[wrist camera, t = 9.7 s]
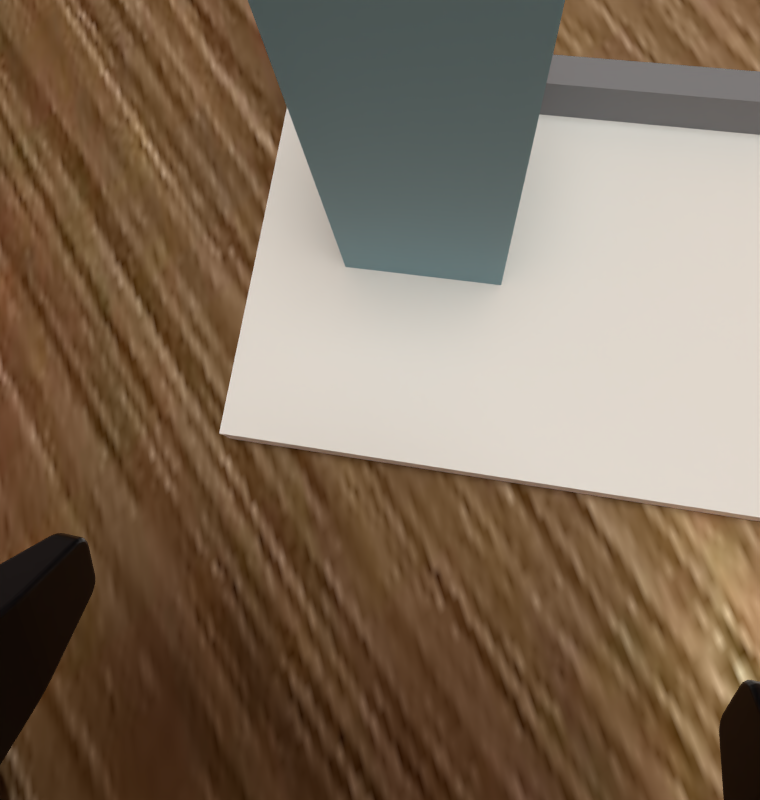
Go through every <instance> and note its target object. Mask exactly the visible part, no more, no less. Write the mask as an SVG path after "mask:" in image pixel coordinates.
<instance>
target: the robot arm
mask: <svg viewBox="0 0 760 800" xmlns="http://www.w3.org/2000/svg"><path fill="white" fill-rule="evenodd" d="M94 585H95V573H94V568H93V564H92V559H91V555H90V550H89V546H88V543H87V541H86V540H85V539H84V538H82V537H78V536H73V535H68V534H64V533H57V534H54V535H52V536H49V537H48V538H46V539H44V540H42V541H41V542H39V543H37V544H35V545H34V546H32V547H30V548H28V549H26V550H25V551H23V552H21V553H19V554H18V555H16V556H14V557H12V558H10V559H9V560H7V561H5V562H3V563H2V564H0V764H1V763H2V761H3V759H4V758H5V756H6V755H7V753H8V751H9V750H10V748H11V746H12V745H13V743H14V741H15V740H16V738H17V737H18V735H19V733H20V732H21V730H22V728H23V727H24V725H25V723H26V722H27V720H28V719H29V717H30V715H31V714H32V712H33V710H34V709H35V707H36V705H37V704H38V702H39V700H40V698H41V697H42V695H43V693H44V692H45V690H46V688H47V686H48V684H49V682H50V680H51V678H52V676H53V674H54V672H55V670H56V668H57V666H58V664H59V662H60V659H61V657H62V655H63V653H64V651H65V649H66V647H67V645H68V643H69V641H70V639H71V636H72V634H73V632H74V630H75V628H76V626H77V624H78V622H79V620H80V618H81V616H82V614H83V611H84V609H85V607H86V605H87V603H88V601H89V599H90V597H91V595H92V592H93V589H94ZM719 737H720V751H721V766H722V781H723V795H724V800H760V682H758V681H754V680H747V681H745V682H743V683H742V684H741V685H740V687H739V688H738V690H737V692H736V693H735V695H734V696H733V698H732V700H731V701H730V703H729V705H728V706H727V708H726V710H725V711H724V713H723V715H722V718H721V721H720V728H719Z"/></svg>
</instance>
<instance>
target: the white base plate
mask: <svg viewBox="0 0 760 800" xmlns="http://www.w3.org/2000/svg"><path fill="white" fill-rule="evenodd" d="M219 433H220V434H222V435H224V436H226V437H228V438H231V439H236V440H243V441H249V442H256V443H262V444H268V445H275V446H281V447H288V448H294V449H300V450H307V451H313V452H320V453H326V454H332V455H339V456H345V457H351V458H358V459H364V460H371V461H377V462H383V463H390V464H396V465H403V466H409V467H415V468H422V469H428V470H435V471H441V472H447V473H454V474H460V475H466V476H473V477H479V478H486V479H492V480H498V481H505V482H511V483H518V484H524V485H530V486H537V487H543V488H550V489H556V490H562V491H569V492H575V493H581V494H588V495H594V496H601V497H607V498H613V499H620V500H626V501H633V502H639V503H645V504H652V505H658V506H665V507H671V508H677V509H684V510H690V511H696V512H703V513H709V514H716V515H722V516H728V517H735V518H741V519H748V520H754V521H760V72H757V71H745V70H733V69H721V68H708V67H696V66H684V65H672V64H660V63H648V62H636V61H624V60H611V59H599V58H587V57H575V56H563V55H553V56H552V60H551V65H550V69H549V74H548V78H547V83H546V87H545V92H544V96H543V101H542V105H541V109H540V114H539V118H538V123H537V127H536V132H535V136H534V141H533V145H532V150H531V154H530V158H529V163H528V167H527V172H526V176H525V181H524V185H523V190H522V194H521V199H520V203H519V207H518V212H517V216H516V221H515V225H514V230H513V234H512V239H511V243H510V248H509V252H508V257H507V261H506V265H505V270H504V274H503V279H502V283H501V285H495V284H486V283H478V282H469V281H461V280H452V279H444V278H435V277H427V276H418V275H410V274H401V273H393V272H384V271H376V270H367V269H359V268H350V267H345V264H344V261H343V259H342V256H341V253H340V250H339V248H338V245H337V242H336V239H335V237H334V234H333V231H332V228H331V226H330V223H329V220H328V218H327V215H326V212H325V209H324V207H323V204H322V201H321V198H320V196H319V193H318V190H317V188H316V185H315V182H314V179H313V177H312V174H311V171H310V168H309V166H308V163H307V160H306V157H305V155H304V152H303V149H302V147H301V144H300V141H299V138H298V136H297V133H296V130H295V127H294V125H293V122H292V119H291V116H290V114H289V111H288V108H287V110H286V115H285V120H284V124H283V129H282V134H281V139H280V144H279V148H278V153H277V158H276V163H275V168H274V172H273V177H272V182H271V187H270V192H269V197H268V201H267V206H266V211H265V216H264V221H263V225H262V230H261V235H260V240H259V245H258V249H257V254H256V259H255V264H254V269H253V273H252V278H251V283H250V288H249V293H248V297H247V302H246V307H245V312H244V317H243V321H242V326H241V331H240V336H239V341H238V345H237V350H236V355H235V360H234V365H233V369H232V374H231V379H230V384H229V389H228V393H227V398H226V403H225V408H224V413H223V417H222V422H221V427H220V432H219Z"/></svg>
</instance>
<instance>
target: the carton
mask: <svg viewBox="0 0 760 800" xmlns="http://www.w3.org/2000/svg"><path fill="white" fill-rule="evenodd" d="M248 2H249V5H250V7H251V10H252V13H253V15H254V18H255V21H256V24H257V26H258V29H259V32H260V35H261V37H262V40H263V43H264V45H265V48H266V51H267V54H268V56H269V59H270V62H271V65H272V67H273V70H274V73H275V76H276V78H277V81H278V84H279V86H280V89H281V92H282V95H283V97H284V100H285V103H286V106H287V108H288V111H289V114H290V116H291V119H292V122H293V125H294V127H295V130H296V133H297V136H298V138H299V141H300V144H301V147H302V149H303V152H304V155H305V157H306V160H307V163H308V166H309V168H310V171H311V174H312V177H313V179H314V182H315V185H316V188H317V190H318V193H319V196H320V198H321V201H322V204H323V207H324V209H325V212H326V215H327V218H328V220H329V223H330V226H331V228H332V231H333V234H334V237H335V239H336V242H337V245H338V248H339V250H340V253H341V256H342V259H343V261H344V264H345V267H350V268H359V269H367V270H376V271H384V272H393V273H401V274H410V275H418V276H427V277H435V278H444V279H452V280H461V281H469V282H478V283H486V284H495V285H501V283H502V279H503V274H504V270H505V265H506V261H507V257H508V252H509V248H510V243H511V239H512V234H513V230H514V225H515V221H516V216H517V212H518V207H519V203H520V199H521V194H522V190H523V185H524V181H525V176H526V172H527V167H528V163H529V158H530V154H531V150H532V145H533V141H534V136H535V132H536V127H537V123H538V118H539V114H540V109H541V105H542V101H543V96H544V92H545V87H546V83H547V78H548V74H549V69H550V65H551V60H552V56H553V51H554V47H555V43H556V38H557V34H558V29H559V25H560V20H561V16H562V11H563V7H564V2H565V0H248Z"/></svg>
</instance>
